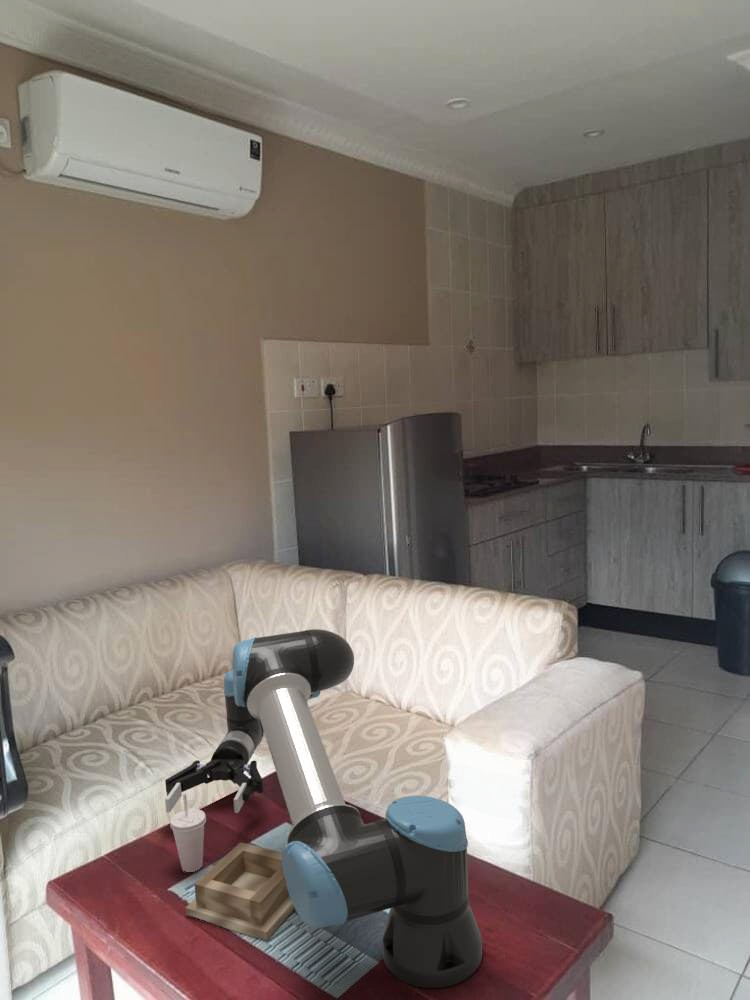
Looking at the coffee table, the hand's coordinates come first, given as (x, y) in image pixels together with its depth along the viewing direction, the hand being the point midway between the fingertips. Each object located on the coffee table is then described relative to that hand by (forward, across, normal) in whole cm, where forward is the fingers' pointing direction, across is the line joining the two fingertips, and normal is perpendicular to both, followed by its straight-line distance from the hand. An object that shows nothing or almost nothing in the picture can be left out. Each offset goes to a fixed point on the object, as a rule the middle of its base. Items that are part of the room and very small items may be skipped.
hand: (201, 806), depth 150 cm
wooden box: (+17, -14, -8) cm, 23 cm away
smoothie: (+8, 0, -8) cm, 11 cm away
